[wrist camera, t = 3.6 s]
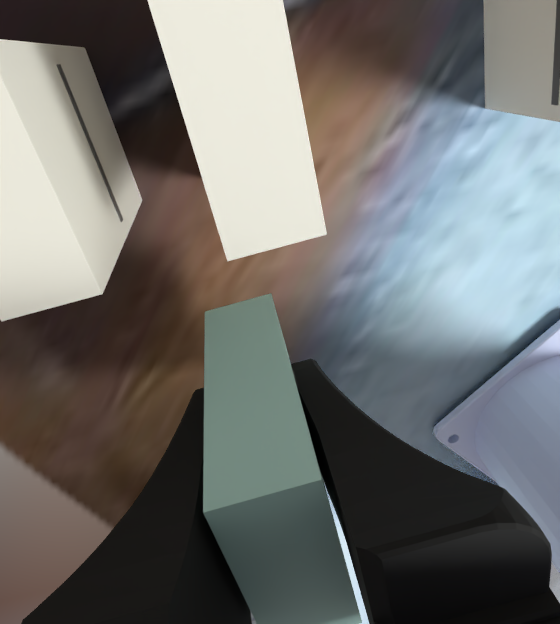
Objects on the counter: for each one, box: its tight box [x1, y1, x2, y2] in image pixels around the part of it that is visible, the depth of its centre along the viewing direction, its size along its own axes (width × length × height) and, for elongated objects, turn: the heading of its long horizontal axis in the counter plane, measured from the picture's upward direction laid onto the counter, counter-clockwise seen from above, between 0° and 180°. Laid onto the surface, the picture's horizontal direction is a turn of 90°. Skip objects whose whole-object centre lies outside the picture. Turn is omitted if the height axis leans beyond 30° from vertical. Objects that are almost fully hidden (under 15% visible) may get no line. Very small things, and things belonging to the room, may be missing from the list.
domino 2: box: [147, 0, 327, 261], centre depth 11 cm, size 2×4×7 cm, turn 13°
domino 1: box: [0, 39, 142, 321], centre depth 11 cm, size 2×4×7 cm, turn 13°
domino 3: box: [203, 293, 362, 624], centre depth 12 cm, size 2×4×7 cm, turn 13°
